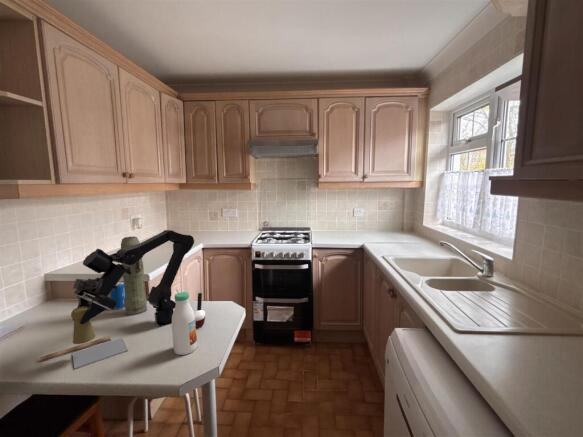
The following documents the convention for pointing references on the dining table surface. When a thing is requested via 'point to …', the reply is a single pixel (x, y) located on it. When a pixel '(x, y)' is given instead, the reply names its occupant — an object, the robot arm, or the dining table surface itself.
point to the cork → (81, 327)
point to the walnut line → (74, 349)
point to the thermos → (134, 283)
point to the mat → (99, 353)
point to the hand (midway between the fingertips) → (77, 322)
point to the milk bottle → (183, 325)
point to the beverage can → (118, 295)
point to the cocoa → (199, 313)
